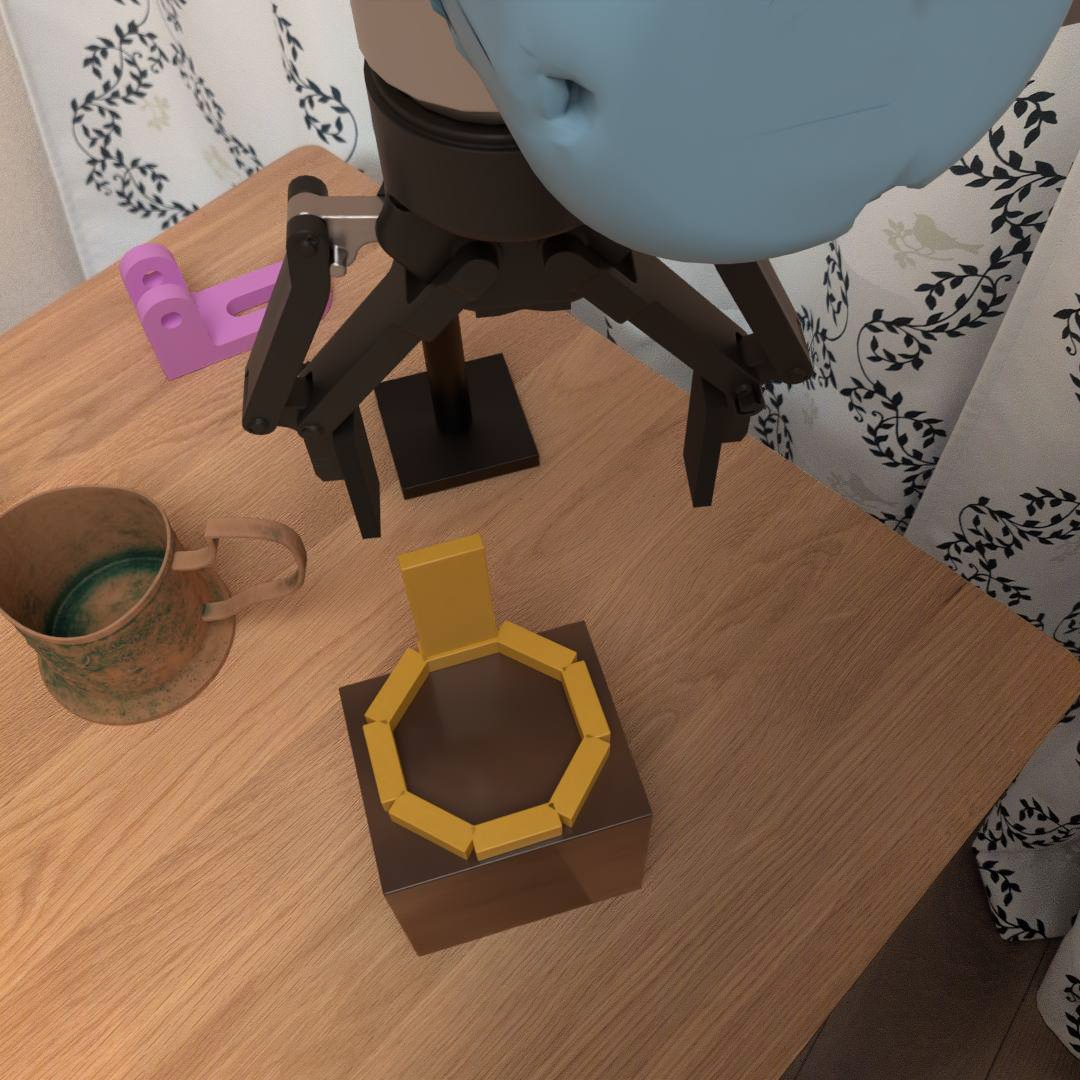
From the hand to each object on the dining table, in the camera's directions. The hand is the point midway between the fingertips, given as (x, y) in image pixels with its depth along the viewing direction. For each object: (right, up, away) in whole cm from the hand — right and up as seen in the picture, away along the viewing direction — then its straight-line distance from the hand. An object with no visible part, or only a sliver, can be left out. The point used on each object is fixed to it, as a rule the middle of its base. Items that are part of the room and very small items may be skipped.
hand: (534, 496), depth 48 cm
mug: (-21, -8, +21) cm, 30 cm away
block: (-2, -17, +14) cm, 22 cm away
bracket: (-21, +14, +34) cm, 42 cm away
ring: (-2, -11, +4) cm, 12 cm away
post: (-5, +5, +28) cm, 29 cm away
